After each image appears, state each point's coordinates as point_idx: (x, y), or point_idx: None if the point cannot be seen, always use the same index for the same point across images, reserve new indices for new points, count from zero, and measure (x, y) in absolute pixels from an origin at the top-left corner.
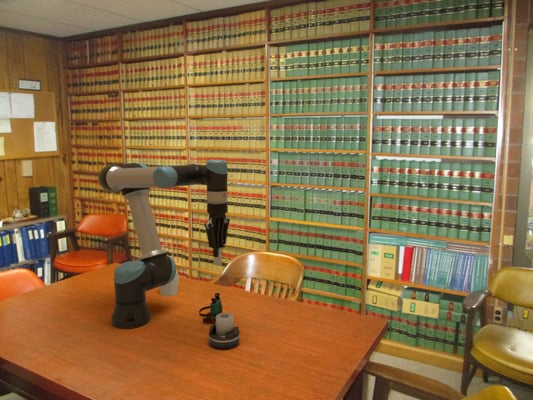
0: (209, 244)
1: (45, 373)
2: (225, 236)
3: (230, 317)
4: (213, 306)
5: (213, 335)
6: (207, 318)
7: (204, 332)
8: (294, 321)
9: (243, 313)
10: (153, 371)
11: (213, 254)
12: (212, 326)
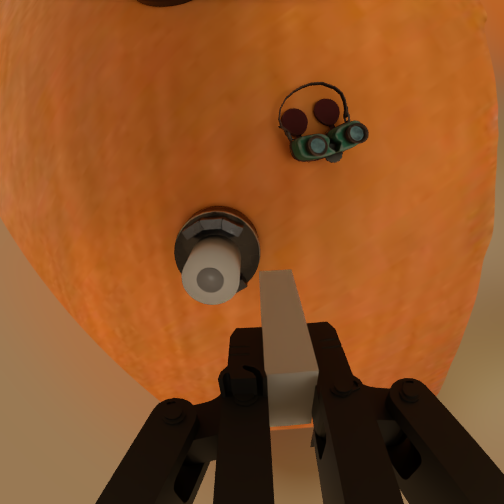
0: (144, 439)
1: None
2: (413, 497)
3: (214, 297)
4: (299, 153)
5: (182, 245)
6: (292, 125)
7: (232, 162)
8: (397, 311)
9: (393, 182)
10: (52, 208)
11: (229, 348)
12: (201, 227)
